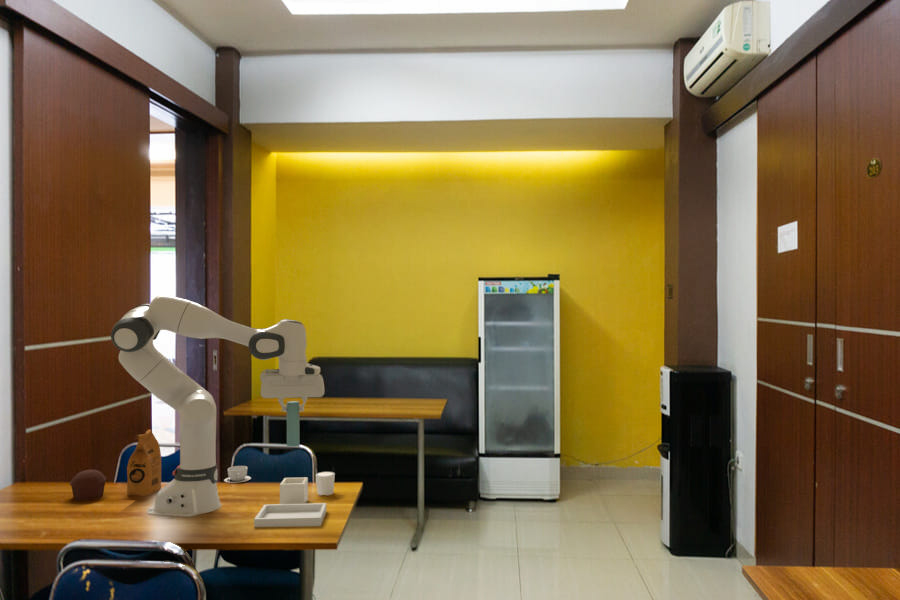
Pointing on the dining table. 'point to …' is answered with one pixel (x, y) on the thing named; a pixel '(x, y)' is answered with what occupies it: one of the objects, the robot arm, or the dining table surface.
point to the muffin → (88, 485)
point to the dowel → (293, 423)
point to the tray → (290, 515)
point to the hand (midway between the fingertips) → (293, 411)
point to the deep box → (294, 491)
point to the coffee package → (144, 466)
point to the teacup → (237, 474)
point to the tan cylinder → (325, 483)
